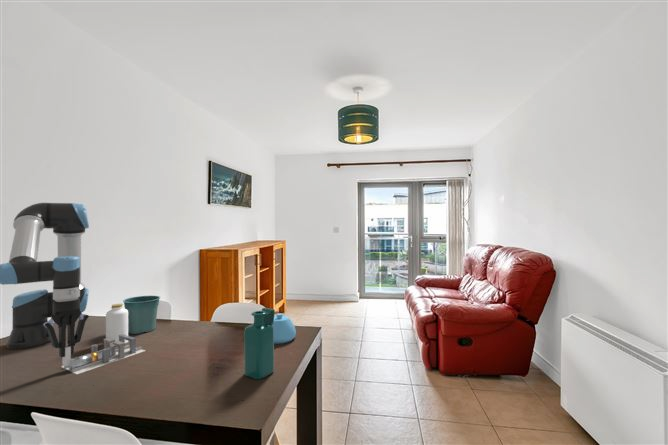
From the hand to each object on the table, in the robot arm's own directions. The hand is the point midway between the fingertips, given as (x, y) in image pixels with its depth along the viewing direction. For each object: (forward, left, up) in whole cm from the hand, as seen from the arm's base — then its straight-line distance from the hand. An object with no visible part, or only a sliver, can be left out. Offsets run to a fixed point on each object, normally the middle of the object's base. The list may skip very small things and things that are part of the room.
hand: (66, 364), depth 114 cm
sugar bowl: (+45, +65, -4) cm, 79 cm away
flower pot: (-25, +41, -3) cm, 48 cm away
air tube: (0, +8, -2) cm, 8 cm away
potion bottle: (-14, +24, -3) cm, 28 cm away
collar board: (0, +13, -3) cm, 13 cm away
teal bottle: (+61, +35, -3) cm, 70 cm away
